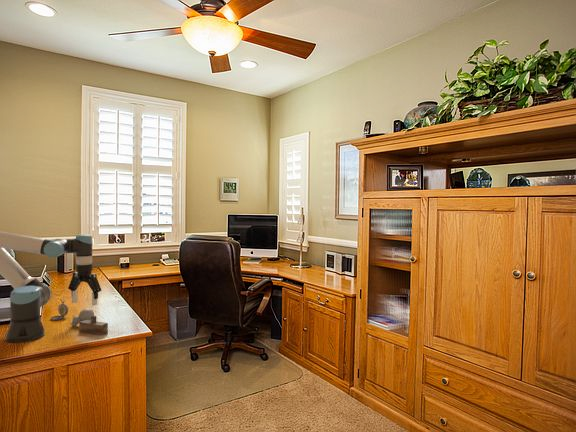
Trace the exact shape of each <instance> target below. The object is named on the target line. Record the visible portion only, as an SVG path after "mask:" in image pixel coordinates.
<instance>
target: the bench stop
mask: <svg viewBox="0 0 576 432" xmlns="http://www.w3.org/2000/svg"><path fill="white" fill-rule="evenodd" d="M108 325H109V323H108V322H104V321H97V316H96V315H94V316H91V320H84V321H81V322H80V323H79V333H84V334H89V335H97V336H104V335H107V334H109V333H108V332H109V326H108Z"/></svg>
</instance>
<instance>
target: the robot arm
mask: <svg viewBox="0 0 576 432" xmlns="http://www.w3.org/2000/svg"><path fill="white" fill-rule="evenodd" d="M7 250H11V251H12V250H13V251H19V252H25V253H31V254H32V253H33V254H38V255H43V256H47V257H48V258H59V257H60V256H63V255H64V254H75V264H76V265H75V268H76V269H75V270H76V271H75V272H72V277H71V279H70V282H69V285H68V288H67V289H68V290H70V291H71V297H72V298H71V302H72V303H71V304H76V303H78V302H79V301H78V299H79V298H78V297H79V296H78V288H79V286H80V285H81V283H82V282H83V283H86V284H87V285H88V286H89V289H90V290H91V291H92V292H91V306H92V307H94V306H96V305H98V299H99V292H101V291H102V287H101V285H100V283H99V280H98V277H97V273H96V272H95V273H92V271H93V236H92V235H91V234H77V235H75V238H54V239H53V238H52V239H47V238H41V237H35V236H31V235H24V234H17V233H12V232H6V231H1V230H0V275H1V276H2V278H4V279H5V280H6V282H7V283H9V285H10V286H11V287H12V288H13V290H12V291H11V292H10V297H9V301H10V305H9V307H10V308H9V310H10V323H9V326H8V329H7V332H6V334H5V342H8V343H26V342H30V341H35V340H37V339H38V340H39V339H40V338H42V337H43V336H45V328H44V326H43V323H42V321H41V307H43V306H45V304H47V303H48V302H49V300H50V299H51V295H52V290H51V288H50V286H48V285H47V284H46V283H43V282H41V281H40V280H39V279H38V278H37V277H36V276H35V277H33V276H30V274H28V272H27V271H26V270H25V269H24V267H22V266H21V265H20V263H18V261H16V259H15V258H14V257H13V256H12V255H11V254H10V253H9V252H8V251H7Z"/></svg>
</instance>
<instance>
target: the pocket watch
mask: <svg viewBox="0 0 576 432" xmlns="http://www.w3.org/2000/svg"><path fill="white" fill-rule="evenodd" d="M57 310H58V314H59V315H55V316H51V317H50V320H51V321H59V320H63V319H65V316H67V315H68V313H69V307H68V305H66V304H65V300H62V301H61V304H59V305H58V308H57Z"/></svg>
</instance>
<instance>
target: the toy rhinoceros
mask: <svg viewBox="0 0 576 432" xmlns="http://www.w3.org/2000/svg"><path fill="white" fill-rule="evenodd" d="M91 316H95V312H94V310H93V309H91V308H84V309H82V310H80V312H79V313H78V315H73V317H72V321H69V324H70V325H71V327H73V328H74V327H77V325H78V324H79V325H80V322H81V321H84V320H91Z"/></svg>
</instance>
